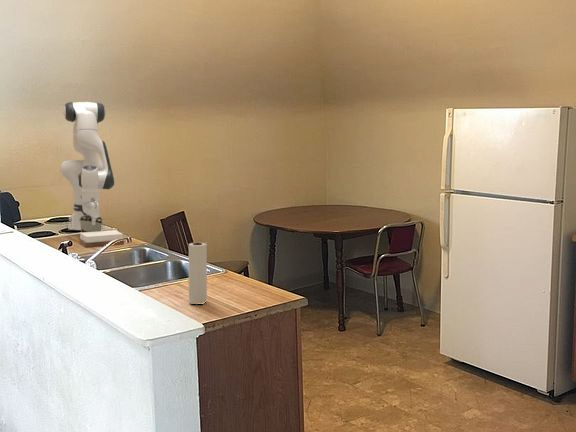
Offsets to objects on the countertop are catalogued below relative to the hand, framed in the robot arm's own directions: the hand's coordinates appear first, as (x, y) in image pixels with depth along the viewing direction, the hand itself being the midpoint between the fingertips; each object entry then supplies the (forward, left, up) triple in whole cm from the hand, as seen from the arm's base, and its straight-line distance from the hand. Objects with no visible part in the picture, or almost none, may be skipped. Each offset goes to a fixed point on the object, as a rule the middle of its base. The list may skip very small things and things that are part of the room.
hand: (91, 223), depth 349 cm
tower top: (+16, +1, -6) cm, 17 cm away
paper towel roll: (+137, +2, -8) cm, 137 cm away
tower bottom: (+16, +1, -9) cm, 18 cm away
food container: (-2, +1, -6) cm, 7 cm away
